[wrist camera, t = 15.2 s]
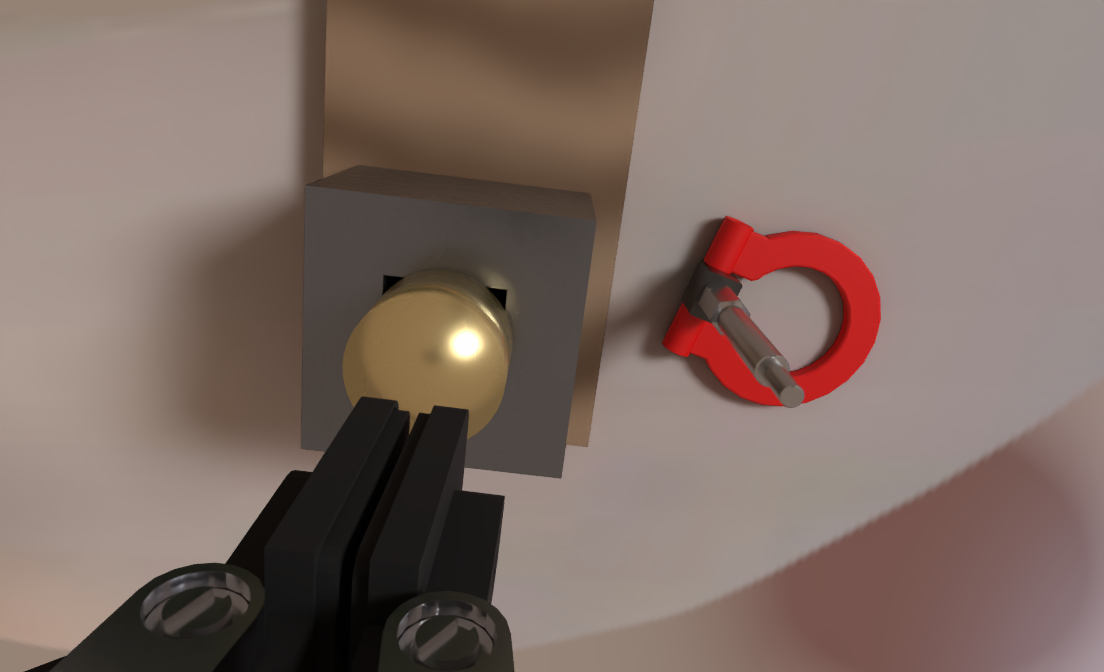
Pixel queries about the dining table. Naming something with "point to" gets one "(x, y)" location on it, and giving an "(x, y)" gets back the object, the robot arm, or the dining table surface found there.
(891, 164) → the dining table surface
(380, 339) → the brass pin
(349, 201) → the hitch block
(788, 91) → the dining table surface
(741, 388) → the tow hook
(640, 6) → the mount plate
